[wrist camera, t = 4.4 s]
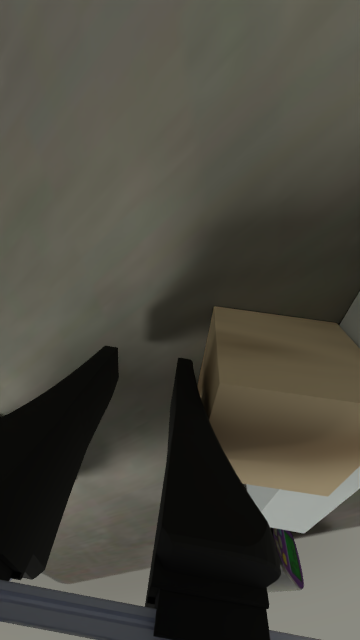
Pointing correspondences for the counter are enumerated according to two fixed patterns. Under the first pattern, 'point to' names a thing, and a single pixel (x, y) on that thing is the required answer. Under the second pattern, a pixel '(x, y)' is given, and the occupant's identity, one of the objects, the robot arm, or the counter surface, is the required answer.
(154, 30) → the counter surface
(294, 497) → the board
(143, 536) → the counter surface
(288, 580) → the infrared thermometer
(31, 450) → the robot arm
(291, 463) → the block
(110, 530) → the counter surface
